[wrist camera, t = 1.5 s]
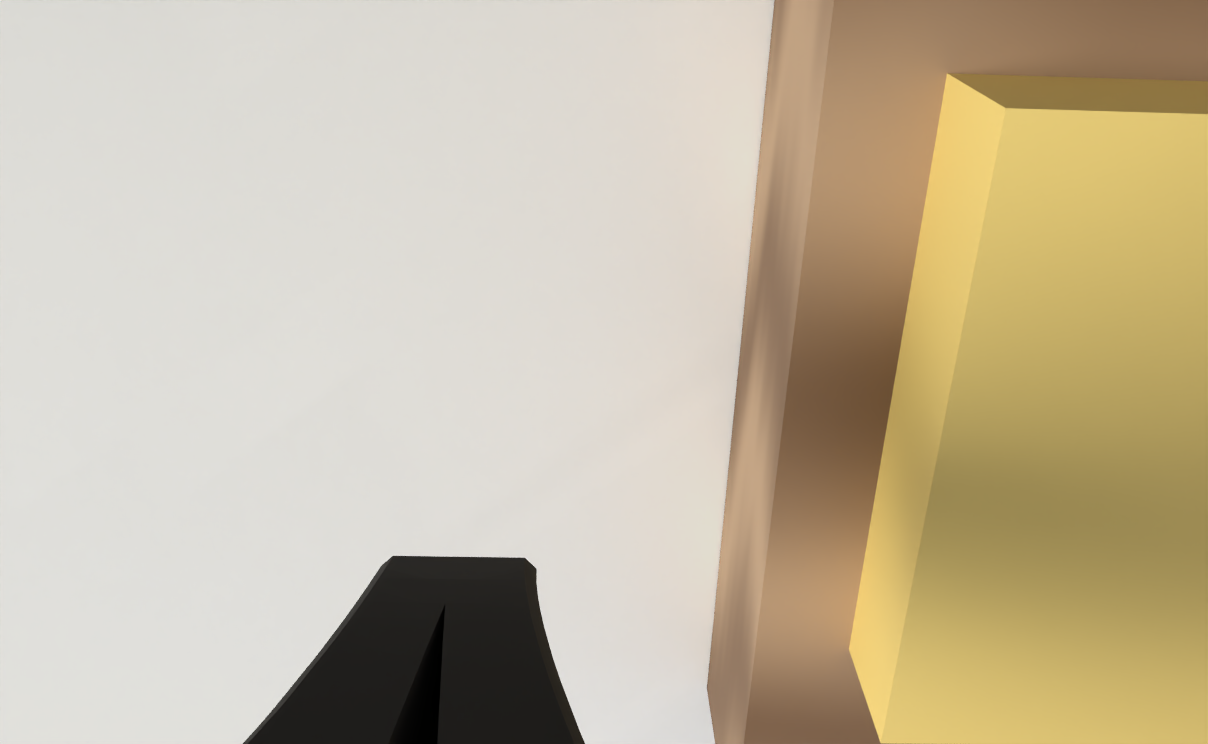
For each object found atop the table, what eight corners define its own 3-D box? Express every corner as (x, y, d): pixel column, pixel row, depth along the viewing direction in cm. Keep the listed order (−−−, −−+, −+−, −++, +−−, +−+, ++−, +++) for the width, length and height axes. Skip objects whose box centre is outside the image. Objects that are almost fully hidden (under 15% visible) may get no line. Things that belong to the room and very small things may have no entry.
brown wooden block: (1216, 694, 23) (1335, 850, 19) (707, 688, 22) (731, 846, 19) (1579, -285, 15) (1895, -329, 11) (805, -319, 15) (880, -374, 11)
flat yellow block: (1216, 654, 17) (1292, 747, 15) (848, 649, 17) (879, 743, 15) (1423, 87, 13) (1555, 124, 11) (946, 73, 13) (1005, 108, 11)
